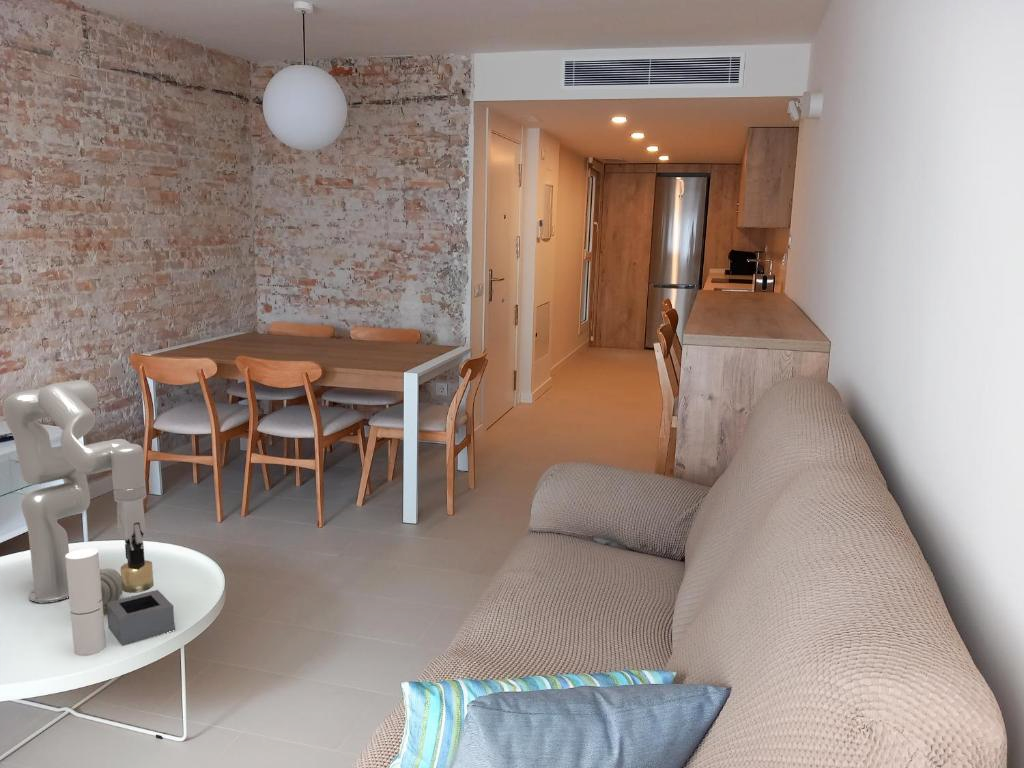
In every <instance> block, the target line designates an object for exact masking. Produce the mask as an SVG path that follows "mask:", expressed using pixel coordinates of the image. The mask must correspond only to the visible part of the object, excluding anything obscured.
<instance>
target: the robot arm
mask: <svg viewBox="0 0 1024 768" xmlns="http://www.w3.org/2000/svg"><path fill="white" fill-rule="evenodd" d="M98 399H99V396H98V391H97V388H96V387H95V385H93V384H92V383H91V382H90V381H88V380H86V379H76V380H69V381H63V382H62V381H61V382H55V383H50V384H48V385H45V386H44V387H43V388H35V389H29V390H23V391H20V392H15V393H13V394H10V395H9V396H8V397H7V398H6V399H5V400H4V402H3V408H2V409H3V413H2V414H3V417H4V420H5V423H6V425H7V427H8V429H9V430H10V433H11V434H12V437H13V440H14V444H15V450H16V453H17V458H18V463H19V469H20V474H21V476H22V479H23V481H24V483H26V484H28V485H31V486H33V485H34V486H36V485H41V484H46V483H51V482H55V481H59V480H62V482H63V483H60V484H55V485H51V486H47V487H43V488H39V489H36V490H34V491H31V492H29V493H28V494H26V495H25V496H24V497H23V499H22V500H21V510H22V514H23V517H24V521H25V523H26V529H27V533H28V542H29V550H30V558H31V559H30V560H31V571H32V580H33V589H32V590H31V591H30V592H29V593H28V599H30V600H32V601H35V602H51V601H56V602H58V601H57V600H61V599H64V600H66V599H65V598H67V597H69V590H68V580H67V569H66V558H65V555H66V554H67V553H69V552H70V548H69V540H68V533H67V530H66V529H65V528H64V527H63V526H61V524H60V523H58V520H61V519H63V518H66V517H70V516H71V517H72V516H74V515H77V514H81V513H83V512H85V511H87V509H88V508H89V507H90V503H91V493H90V490H89V489H90V488H89V485H88V478H87V475H94V474H99V473H102V472H107V471H111V479H112V487H113V488H112V489H113V490H112V491H113V500H114V502H116V512H117V515H116V519H117V532H118V533H119V534H120V535H121V537H122V538H123V540H124V542H125V544H124V548H125V550H124V551H125V558H126V559H127V548H126V544H127V543H129V542H130V548H131V550H129V552H130V564H131V565H135V564H140V563H143V562H144V559H145V551H144V552H143V546H144V542H143V543H142V541H143V538H144V537H145V536H146V520H145V509H144V504H143V503H144V501H143V500H145V499H146V498H147V488H146V485H147V484H146V474H145V473H146V472H145V459H144V458H145V457H144V449H143V447H142V446H141V445H139V444H137V443H131V442H129V441H128V440H127V439H124V438H115V439H110V440H109V439H108V440H104V441H100V442H94V443H90V444H83V443H81V441H80V439H81V438H83V437H84V436H85V435H86V434H88V433H89V432H90V431H91V430H92V429H93V428H94V425H95V423H96V415H95V413H94V412H93V411H92V409H93V408H94V407H96V405H97V403H98V401H99V400H98ZM44 419H51V420H52V421H53V422H54V423H55V424H56V426H58V427H59V428H60V429H61V430H62V432H61V435H60V445H58V446H53V447H52V442H51V439H50V438H51V437H50V433H49V432H48V430H47V429H46V427H44V426H43V425H42V424H41V422H39V421H37V420H44ZM133 541H135V542H134V543H133ZM67 599H68V598H67ZM30 600H29V601H30ZM32 601H31V602H32ZM61 601H62V600H61ZM35 602H34V603H35ZM51 603H52V602H51Z"/></svg>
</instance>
